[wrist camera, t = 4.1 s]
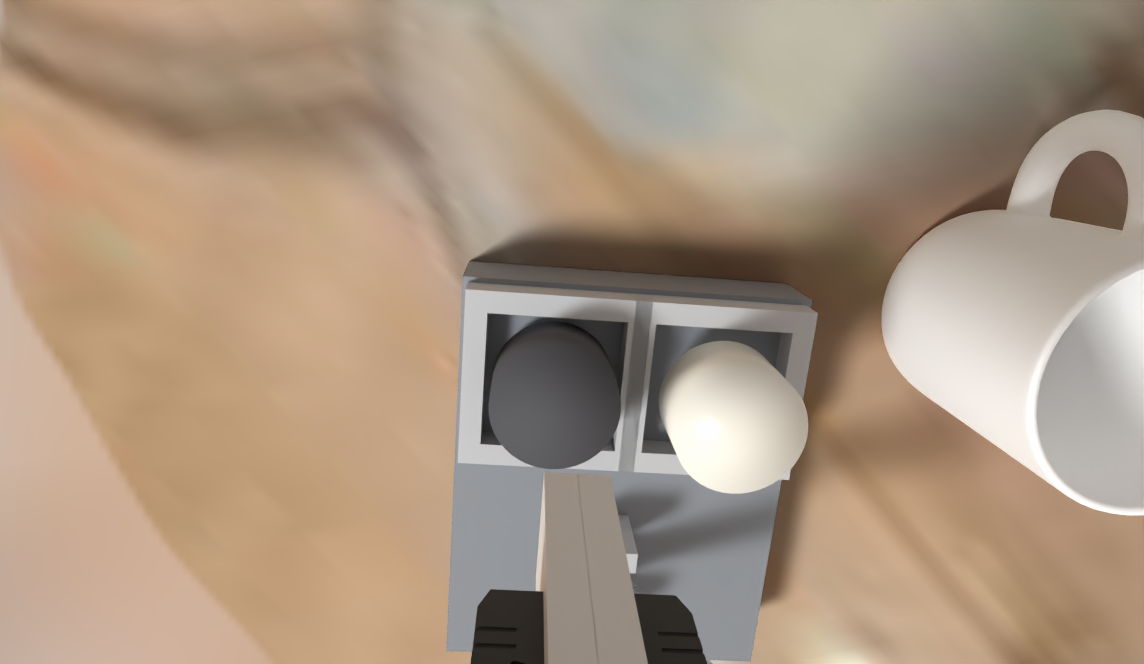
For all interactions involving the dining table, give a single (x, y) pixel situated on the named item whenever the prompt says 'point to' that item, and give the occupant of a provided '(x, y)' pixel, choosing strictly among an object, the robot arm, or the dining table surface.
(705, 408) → the button ivory
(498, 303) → the panel
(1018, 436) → the mug
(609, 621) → the robot arm
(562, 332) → the button black
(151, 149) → the dining table surface
